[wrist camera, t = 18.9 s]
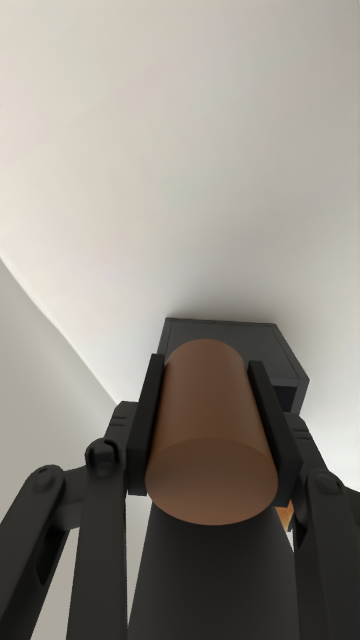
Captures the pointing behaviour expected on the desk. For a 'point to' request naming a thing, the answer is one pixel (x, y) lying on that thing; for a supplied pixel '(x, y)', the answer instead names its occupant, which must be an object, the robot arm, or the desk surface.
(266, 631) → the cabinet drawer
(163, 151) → the desk surface
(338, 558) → the robot arm
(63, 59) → the desk surface
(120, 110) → the desk surface
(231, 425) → the brown cylinder
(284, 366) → the dark grey box
